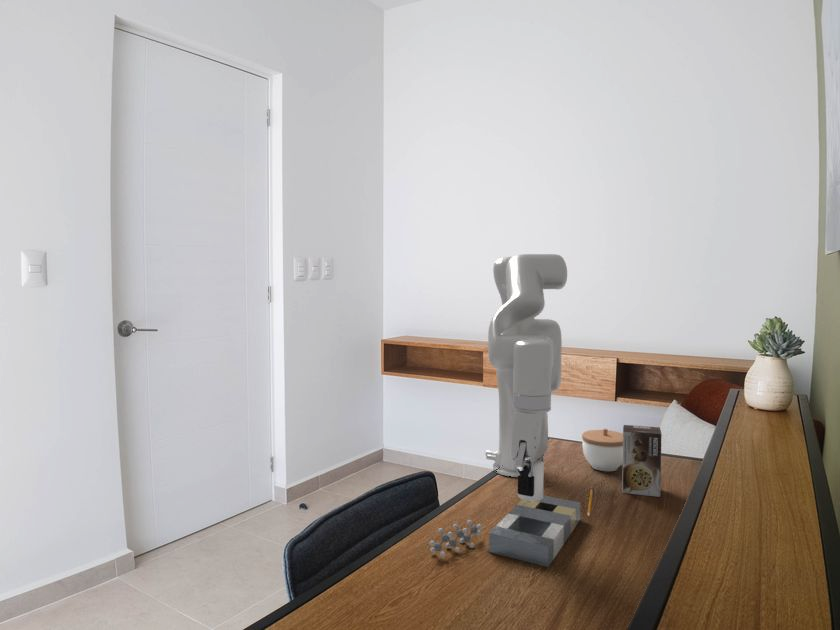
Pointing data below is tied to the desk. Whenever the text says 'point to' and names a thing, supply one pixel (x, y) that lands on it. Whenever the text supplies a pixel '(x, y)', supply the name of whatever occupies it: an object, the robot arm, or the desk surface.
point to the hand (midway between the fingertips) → (530, 489)
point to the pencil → (590, 501)
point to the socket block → (535, 530)
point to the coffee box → (641, 460)
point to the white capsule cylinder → (536, 482)
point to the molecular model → (453, 541)
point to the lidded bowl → (603, 449)
